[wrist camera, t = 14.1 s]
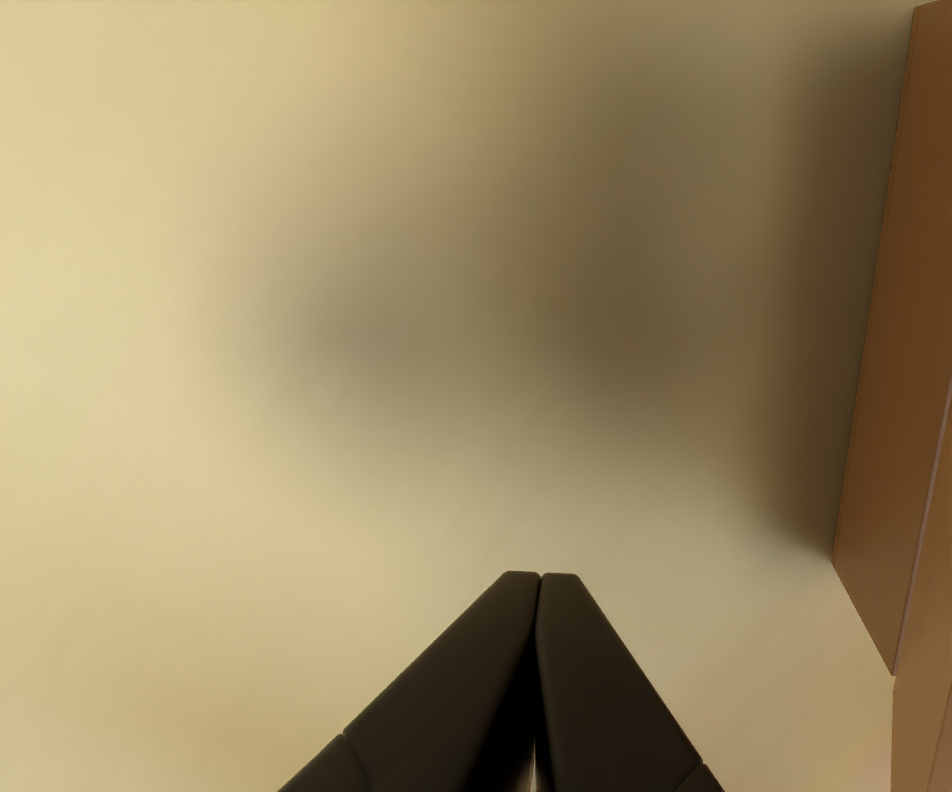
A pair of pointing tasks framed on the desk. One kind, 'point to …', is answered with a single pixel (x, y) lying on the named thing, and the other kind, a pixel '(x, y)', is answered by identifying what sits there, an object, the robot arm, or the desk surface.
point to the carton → (903, 352)
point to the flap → (928, 653)
